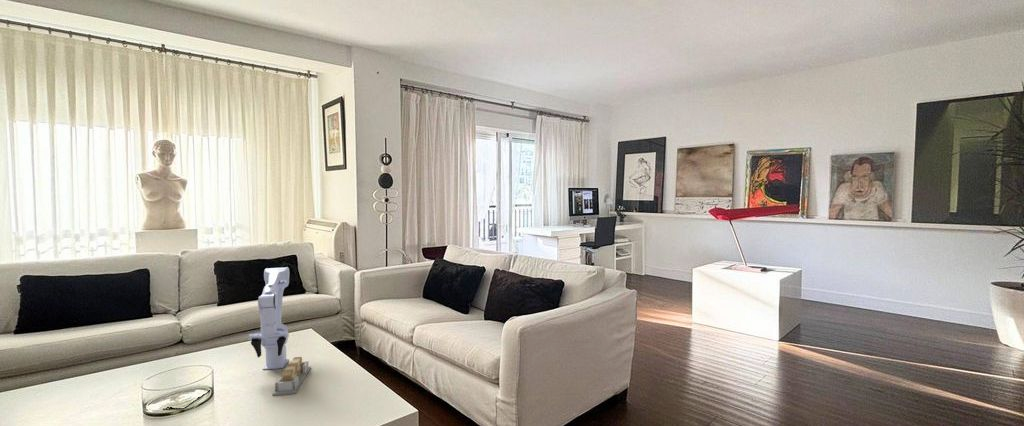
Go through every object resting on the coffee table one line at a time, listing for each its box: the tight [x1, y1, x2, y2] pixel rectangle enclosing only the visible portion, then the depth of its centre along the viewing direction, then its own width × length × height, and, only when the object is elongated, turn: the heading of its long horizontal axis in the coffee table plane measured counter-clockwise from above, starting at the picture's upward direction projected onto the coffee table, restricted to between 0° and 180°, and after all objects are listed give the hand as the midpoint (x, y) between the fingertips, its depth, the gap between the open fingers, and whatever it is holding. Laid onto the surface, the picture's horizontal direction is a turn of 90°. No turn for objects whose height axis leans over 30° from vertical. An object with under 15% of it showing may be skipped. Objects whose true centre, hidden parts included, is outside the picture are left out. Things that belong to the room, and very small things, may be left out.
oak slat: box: [281, 356, 303, 382], centre depth 174 cm, size 16×3×6 cm, turn 12°
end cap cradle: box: [271, 361, 312, 397], centre depth 174 cm, size 24×8×4 cm, turn 12°
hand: (269, 355), depth 176 cm, fingers open, 7 cm apart
